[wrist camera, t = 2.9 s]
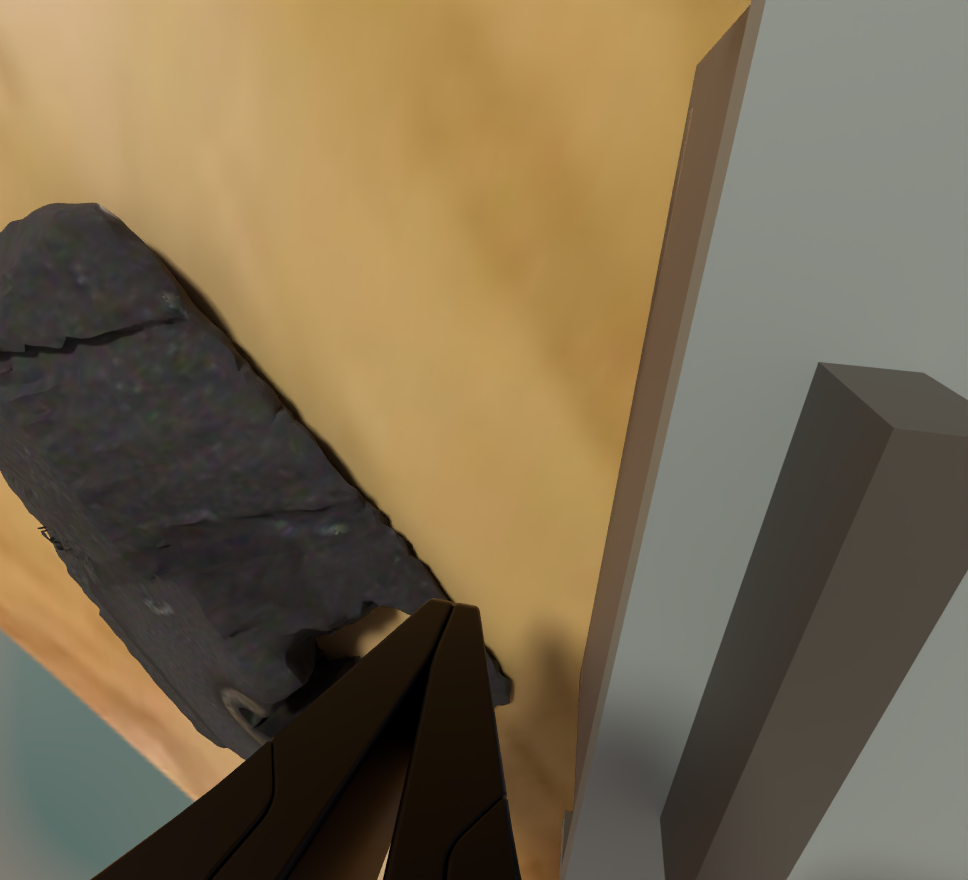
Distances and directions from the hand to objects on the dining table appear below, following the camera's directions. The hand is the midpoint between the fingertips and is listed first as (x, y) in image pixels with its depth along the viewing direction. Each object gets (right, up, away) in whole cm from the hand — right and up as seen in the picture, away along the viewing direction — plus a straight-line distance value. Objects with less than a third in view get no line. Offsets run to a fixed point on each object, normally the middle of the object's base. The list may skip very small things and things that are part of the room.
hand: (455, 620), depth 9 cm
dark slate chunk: (-9, 0, +11) cm, 14 cm away
